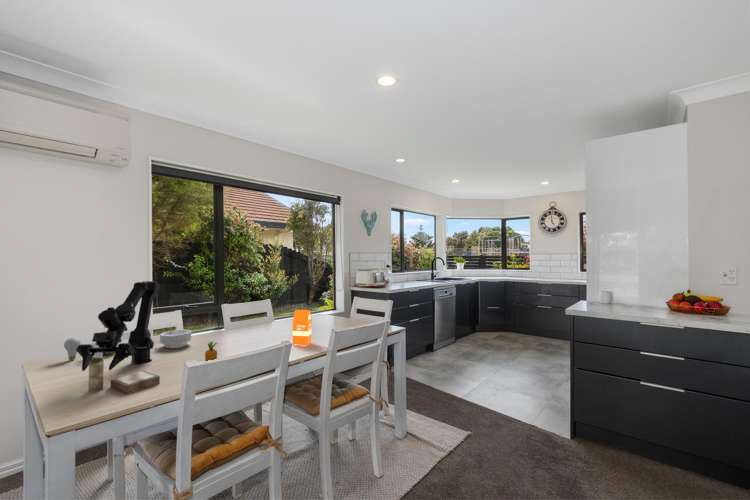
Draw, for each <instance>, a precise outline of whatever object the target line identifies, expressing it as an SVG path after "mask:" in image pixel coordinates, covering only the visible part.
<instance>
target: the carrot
mask: <svg viewBox="0 0 750 500" xmlns="http://www.w3.org/2000/svg"><path fill="white" fill-rule="evenodd" d="M217 344H218V342H213V341H209V342H208V343H207V346H208V349H207V350H205V352H204V361H208V360H214V359H217V360H218V350H217V349H214V347H215V346H216V345H217Z"/></svg>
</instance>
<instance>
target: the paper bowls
mask: <svg viewBox="0 0 750 500" xmlns="http://www.w3.org/2000/svg"><path fill="white" fill-rule="evenodd" d="M191 340H192V330H190V329H175V330H169V331H165V332H161V333H160V334H159V343H160V344H161V345H163V346H164V347H165V348H166V349H179V348H183V347H185V346H187V344H188V342H191Z"/></svg>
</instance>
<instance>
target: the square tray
mask: <svg viewBox="0 0 750 500" xmlns="http://www.w3.org/2000/svg"><path fill="white" fill-rule="evenodd" d="M160 376H161V375H157V374H155V373H151V372H148V371H145V370H141V371H138V372H134V373H131V374H128V375H123V376H120V377H119V376H118V377H116V378H112V379H110V389H113V390H116V391H118V392H121V393H122V394H126V395H128V394H131V392H132V393H134V392H133V391H135V392H138V391H141V390H144V389H147V388H150V387H153V386H156V384H157V385H160V381H161V380H160V378H161V377H160ZM149 386H150V387H149ZM146 387H147V388H146ZM143 388H144V389H143ZM140 389H141V390H140ZM137 390H138V391H137Z"/></svg>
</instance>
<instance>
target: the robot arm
mask: <svg viewBox="0 0 750 500" xmlns="http://www.w3.org/2000/svg"><path fill="white" fill-rule="evenodd" d="M160 289H161V284H160V283H159V282H158V281H157V280H156V281H155V280H154V281H153V280H151V281H149V280H147V281H139V282H138V281H137V282H134V283H133V287H132V289H131V290H130V292H129V294H128V295H127V297H126V298H125V300H124V301H123V303H121V304H119V305H118V306H116V308H115V307H112V306H111V307H107V309H105V310H102V311H101V312H100V313H99V314H98V315H97V317H98V318H97V319H98V321H100V322H101V324H102V325H103V326H104V328H105V329H107V330H106V331H105V332H106V333H100V332H94V333H93V337H92V339H91V342H92V343H96V342H97V343H96V345H97V346H99V347H95V348H93V347H92V343H87V344H82V343H81V344H80V345H79V346H78V347H77V349H76V351H77V353H78V355H79V356H80V357H82V362H81V363H82V365H81V371H82V372H85V371H86V369H88V368H89V362H90V360H93V359H94V358H93V357H92V356H94V354H95V353H99V352H115V355H113V357H112V360H111V362H110V364H109V365H108V371H112V369H114V368H115V367H116V366H117V365H118V364H119V363H122V361H124V360H125V359H127V358H129V357H131V361H130V363H132V364H135V365H141V364H145V363H148V362H151V361H153V359H151V350H152V349H154V345H155V342H154V340H153V339H152V338H151V335H152V333H151V332H150V330H149V324H150V319H151V318H150V317H151V313H152V308H153V302H154V299H155V298H156V297H157V296H158V294H159V292H160ZM139 302H140V305H139V311H138V315H137V321H136V326H135V327H136V328H134V329H133V330H131V331H130V332H129V337H128V340H127V341H128V342H127V343H126V342H125V343H121V342H122V339H121V338H122V337H123V334H124V332H127V331H128V327H127V325H126V324H125V323H129V322H133V320H134V319H135V316H136V307H137V305H138V303H139Z"/></svg>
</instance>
